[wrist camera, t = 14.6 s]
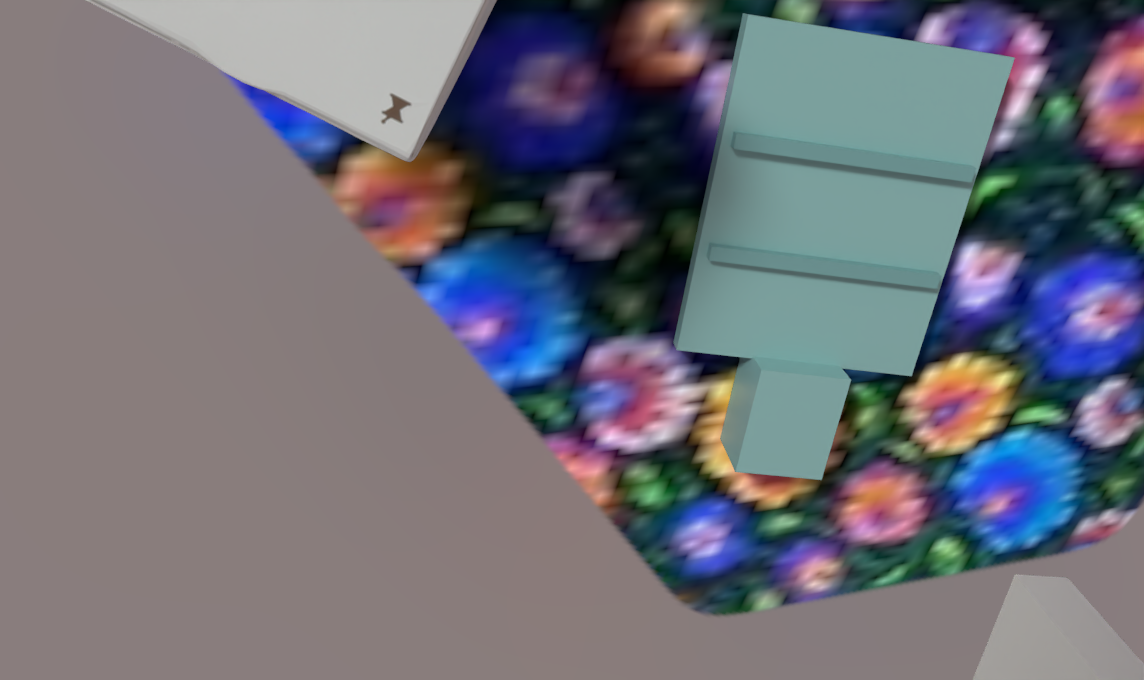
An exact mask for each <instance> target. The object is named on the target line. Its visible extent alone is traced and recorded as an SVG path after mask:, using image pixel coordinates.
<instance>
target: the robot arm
mask: <svg viewBox="0 0 1144 680" xmlns="http://www.w3.org/2000/svg"><path fill="white" fill-rule="evenodd" d="M973 680H1144V664H1143V662H1142V661H1141V660H1140V659H1139V658H1138V657H1137V656H1136V655H1135V653H1134V652H1133V651H1132V650H1131V649H1130V648H1129V647H1128V646H1127V645H1126V643H1125V642H1124V641H1123V640H1122V639H1121V638H1120V637H1119V635H1118V634H1117V633H1116V632H1115V631H1114V630H1113V629H1112V628H1111V626H1110V625H1109V624H1108V623H1107V622H1106V621H1105V620H1104V618H1103V617H1102V616H1101V615H1100V614H1099V613H1098V612H1097V610H1096V609H1095V608H1094V607H1093V606H1092V605H1091V604H1090V603H1089V602H1088V601H1087V599H1086V598H1085V597H1084V596H1083V595H1082V593H1081V592H1080V591H1079V590H1078V589H1077V588H1076V587H1075V586H1074V585H1073V583H1071V581H1070V580H1069V579H1068V578H1064V577H1048V576H1032V575H1016V574H1015V576H1014V578H1013V581H1012V583H1011V586H1010V588H1009V591H1008V593H1007V596H1006V598H1005V601H1004V603H1003V606H1002V608H1001V611H1000V613H999V616H998V618H997V621H996V623H995V626H994V628H993V630H992V633H991V636H990V638H989V640H988V643H987V645H986V648H985V651H984V653H983V655H982V658H981V660H980V663H979V665H978V668H977V671H976V673H975V675H974V678H973Z"/></svg>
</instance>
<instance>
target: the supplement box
mask: <svg viewBox="0 0 1144 680" xmlns="http://www.w3.org/2000/svg"><path fill="white" fill-rule="evenodd" d="M86 1H88V2H90V3H92V4H94V5H96V6H98V7H100V8H102V9H104V10H106V11H108V12H110V13H112V14H114V15H116V16H118V17H120V18H122V19H124V20H126V21H128V22H130V23H132V24H134V25H136V26H138V27H140V28H142V29H144V30H146V31H147V32H149V33H151V34H153V35H155V36H157V37H159V38H161V39H163V40H165V41H167V42H169V43H171V44H173V45H175V46H177V47H179V48H181V49H183V50H185V51H187V52H189V53H191V54H193V55H195V56H197V57H199V58H201V59H203V60H204V61H206V62H208V63H210V64H212V65H214V66H216V67H217V68H219V69H220V70H222V71H223V72H225V73H226V74H228V75H230V76H232V77H234V78H236V79H238V80H240V81H241V82H243V83H246V84H248V85H251V86H253V87H256V88H258V89H262V90H265V91H266V92H268V93H270V94H272V95H274V96H276V97H278V98H280V99H282V100H284V101H286V102H288V103H290V104H292V105H294V106H296V107H298V108H300V109H302V110H304V111H306V112H308V113H310V114H312V115H314V116H316V117H318V118H320V119H322V120H324V121H326V122H328V123H330V124H332V125H334V126H336V127H338V128H340V129H342V130H344V131H346V132H348V133H349V134H351V135H353V136H355V137H357V138H359V139H361V140H363V141H365V142H367V143H369V144H371V145H373V146H375V147H377V148H379V149H381V150H383V151H385V152H387V153H390V154H392V155H394V156H396V157H398V158H400V159H402V160H404V161H407V162H411V161H413V160H414V159H415V158H416V157H417V155H418V153H419V151H420V150H421V148H422V146H423V144H424V142H425V140H426V139H427V137H428V135H429V133H430V131H431V130H432V128H433V126H434V124H435V122H436V120H437V118H438V116H439V114H440V112H441V110H442V108H443V106H444V104H445V102H446V100H447V98H448V97H449V95H450V93H451V91H452V89H453V87H454V85H455V83H456V81H457V79H458V77H459V75H460V73H461V71H462V69H463V67H464V65H465V63H466V61H467V59H468V57H469V56H470V54H471V52H472V50H473V48H474V46H475V44H476V41H477V39H478V37H479V35H480V33H481V31H482V29H483V27H484V25H485V23H486V21H487V19H488V17H489V15H490V13H491V11H492V9H493V7H494V5H495V3H496V1H497V0H86Z"/></svg>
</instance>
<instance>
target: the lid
mask: <svg viewBox="0 0 1144 680" xmlns="http://www.w3.org/2000/svg"><path fill="white" fill-rule="evenodd" d="M1014 59H1015V58H1013V57H1009V56H1004V55H998V54H991V53H985V52H979V51H973V50H967V49H960V48H954V47H948V46H942V45H936V44H930V43H923V42H917V41H911V40H905V39H899V38H892V37H886V36H880V35H874V34H868V33H862V32H855V31H849V30H843V29H837V28H831V27H824V26H818V25H812V24H806V23H800V22H794V21H787V20H781V19H775V18H769V17H763V16H756V15H750V14H744V13H743V16H742V21H741V25H740V30H739V35H738V40H737V44H736V49H735V54H734V59H733V63H732V68H731V73H730V77H729V82H728V87H727V92H726V96H725V101H724V106H723V111H722V115H721V120H720V125H719V129H718V134H717V139H716V144H715V148H714V153H713V158H712V163H711V167H710V172H709V177H708V181H707V186H706V191H705V196H704V200H703V205H702V210H701V215H700V219H699V224H698V229H697V233H696V238H695V243H694V248H693V252H692V257H691V262H690V267H689V271H688V276H687V281H686V285H685V290H684V295H683V300H682V304H681V309H680V314H679V319H678V323H677V328H676V333H675V337H674V342H673V343H674V345H675V347H676V350H680V351H689V352H698V353H707V354H716V355H725V356H734V357H740V360H739V364H738V368H737V372H736V376H735V380H734V384H733V388H732V392H731V397H730V401H729V405H728V409H727V413H726V417H725V421H724V425H723V429H722V434H721V438H720V439H721V441H722V443H723V446H724V448H725V450H726V452H727V454H728V457H729V459H730V461H731V463H732V465H733V467H734V470H735V472H742V473H752V474H763V475H774V476H784V477H795V478H806V479H816V480H822V477H823V473H824V470H825V467H826V463H827V460H828V457H829V453H830V450H831V446H832V443H833V440H834V436H835V433H836V430H837V426H838V423H839V420H840V416H841V413H842V409H843V406H844V403H845V399H846V396H847V393H848V389H849V386H850V382H851V379H850V378H849V376H848V375H847V374H846V373H845V372H844V370H843V369H851V370H860V371H869V372H878V373H887V374H896V375H905V376H912V373H913V370H914V367H915V364H916V361H917V358H918V355H919V352H920V349H921V346H922V342H923V339H924V336H925V333H926V330H927V327H928V324H929V321H930V318H931V315H932V312H933V309H934V305H935V302H936V299H937V296H938V293H939V290H940V287H941V284H942V281H943V278H944V275H945V271H946V268H947V265H948V262H949V259H950V256H951V253H952V250H953V247H954V244H955V241H956V238H957V234H958V231H959V228H960V225H961V222H962V219H963V216H964V213H965V210H966V207H967V204H968V201H969V197H970V194H971V191H972V188H973V185H974V182H975V179H976V176H977V173H978V170H979V167H980V164H981V160H982V157H983V154H984V151H985V148H986V145H987V142H988V139H989V136H990V133H991V130H992V126H993V123H994V120H995V117H996V114H997V111H998V108H999V105H1000V102H1001V99H1002V96H1003V93H1004V89H1005V86H1006V83H1007V80H1008V77H1009V74H1010V71H1011V68H1012V65H1013V62H1014Z"/></svg>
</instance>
